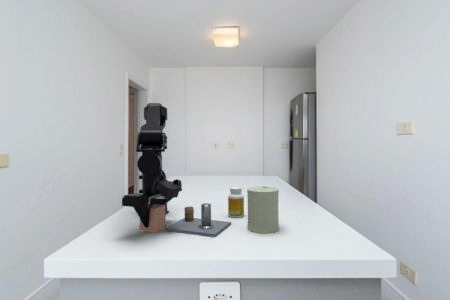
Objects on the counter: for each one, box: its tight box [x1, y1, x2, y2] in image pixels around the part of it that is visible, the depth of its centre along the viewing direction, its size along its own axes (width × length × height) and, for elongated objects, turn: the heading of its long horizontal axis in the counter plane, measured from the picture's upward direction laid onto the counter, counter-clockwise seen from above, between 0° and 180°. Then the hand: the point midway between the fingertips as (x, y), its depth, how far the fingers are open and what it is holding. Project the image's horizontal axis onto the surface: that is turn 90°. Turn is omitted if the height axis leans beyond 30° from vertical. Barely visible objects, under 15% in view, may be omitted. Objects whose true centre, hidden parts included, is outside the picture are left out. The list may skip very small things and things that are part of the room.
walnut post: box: [184, 206, 195, 222], centre depth 83 cm, size 3×3×4 cm
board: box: [163, 217, 232, 238], centre depth 78 cm, size 16×12×1 cm
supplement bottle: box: [227, 186, 245, 219], centre depth 90 cm, size 5×5×10 cm
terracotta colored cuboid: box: [139, 204, 167, 234], centre depth 77 cm, size 5×5×7 cm
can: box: [246, 186, 280, 234], centre depth 77 cm, size 9×9×12 cm
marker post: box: [199, 202, 214, 229], centre depth 76 cm, size 4×4×6 cm
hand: (152, 224), depth 77 cm, fingers closed on terracotta colored cuboid, 5 cm apart
